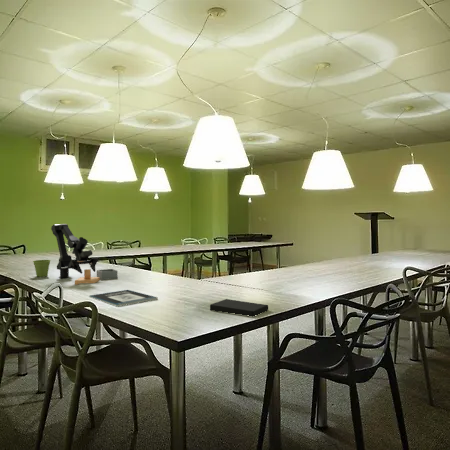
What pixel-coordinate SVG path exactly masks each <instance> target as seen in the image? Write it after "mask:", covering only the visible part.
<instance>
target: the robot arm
mask: <svg viewBox="0 0 450 450" xmlns="http://www.w3.org/2000/svg"><path fill="white" fill-rule="evenodd" d="M50 230H51V232H52V234H53V236H55V238H56V243H57V247H58V248H57V249H58V252H59V258H58V263H57V265H56V270H58V271H59V276H58V278H59V279H68V278H69V276H70V274H69V270H70V269H72V270H75V271H76V272H78V273H80V274H83V270H82V268H81V266H80V265H87V264H89V268H91V271H93V272H94V273H96V265H97V264H98V262H99V259H98V257H91V256H92V255H93V251H92V250H91V249H89V250H85V248H86V247H87V245H88V242H89V241H88V239H86V238H84V237H83V236H80V237H79V238H78V237H77V236H75V235H74V234H73V232H72V230H71V229H70V227H69V225H68V224H67V223H60V224H57V223H55V224H53V225H51V228H50ZM64 236H65V237H64ZM65 238H66V240H67V246H66V242H65ZM67 247H68V248H69V249H72V251H71V253H72V255H73V254H74V256H75V259H72V256H71V255H69V254H68V251H67V250H68V249H67ZM90 257H91V258H90ZM89 258H90V259H89Z"/></svg>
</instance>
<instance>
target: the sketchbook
mask: <svg viewBox="0 0 450 450" xmlns="http://www.w3.org/2000/svg"><path fill="white" fill-rule="evenodd" d="M89 298H92V299H94V298H95V300H97V299H98V301H100V300H101V301H100V302H103V301H104V302H103V303H106V302H107V303H106V304H108V303H110V304H109V305H111V304H113V305H112V306H114V305H116V306H115V307H117V306H118V307H119V306H120V305H122V306H121V307H124V306H125V305H126V304H127V305H126V306H129V305H128V304H130V305H135V304H137V303H138V302H140V303H138V304H141V303H147V302H148V301H149V302H152V301H157V300H158V297H157V296H153V295H149V294H145V293H141V292H138V291H134V290H130V289H124V290H123V289H122V290H117V291H110V292H103V293H96V294H92V295H89ZM150 300H151V301H150ZM144 301H145V302H144ZM133 303H134V304H133ZM123 305H124V306H123Z"/></svg>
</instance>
